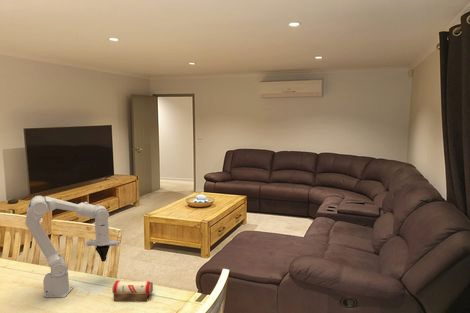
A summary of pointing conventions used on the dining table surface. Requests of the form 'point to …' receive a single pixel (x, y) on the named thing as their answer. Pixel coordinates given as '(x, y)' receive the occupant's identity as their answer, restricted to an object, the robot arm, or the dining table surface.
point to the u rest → (131, 297)
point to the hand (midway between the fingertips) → (103, 260)
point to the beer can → (133, 287)
